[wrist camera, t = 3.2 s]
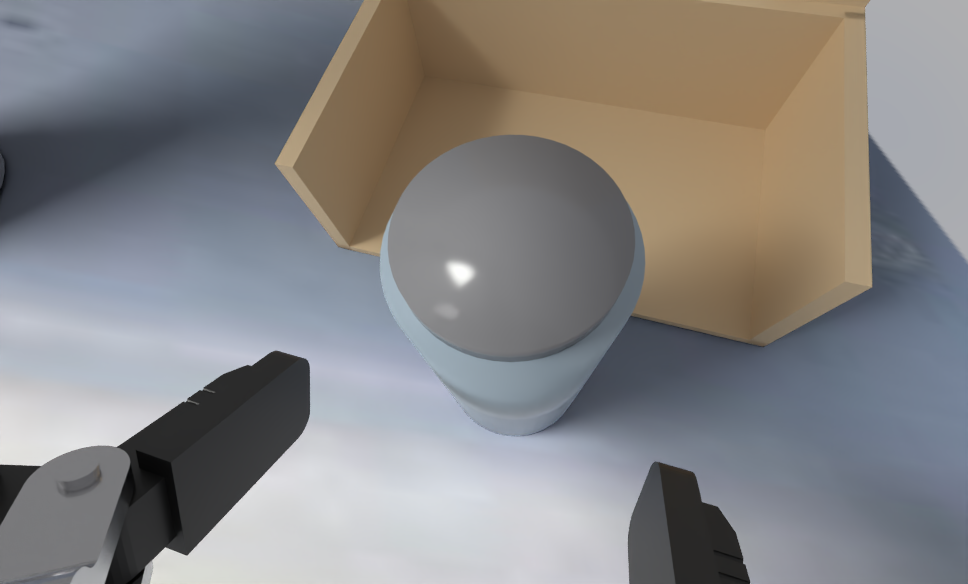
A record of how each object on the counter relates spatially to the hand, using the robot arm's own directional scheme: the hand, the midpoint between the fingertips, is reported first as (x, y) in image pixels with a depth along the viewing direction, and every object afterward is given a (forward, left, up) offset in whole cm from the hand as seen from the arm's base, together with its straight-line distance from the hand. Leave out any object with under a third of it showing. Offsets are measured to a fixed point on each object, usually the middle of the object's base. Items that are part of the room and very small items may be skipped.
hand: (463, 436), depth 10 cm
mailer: (0, +14, -11) cm, 18 cm away
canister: (0, +4, -11) cm, 11 cm away
